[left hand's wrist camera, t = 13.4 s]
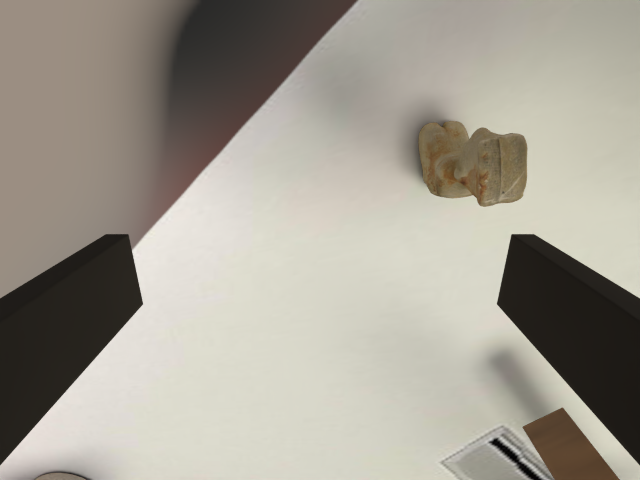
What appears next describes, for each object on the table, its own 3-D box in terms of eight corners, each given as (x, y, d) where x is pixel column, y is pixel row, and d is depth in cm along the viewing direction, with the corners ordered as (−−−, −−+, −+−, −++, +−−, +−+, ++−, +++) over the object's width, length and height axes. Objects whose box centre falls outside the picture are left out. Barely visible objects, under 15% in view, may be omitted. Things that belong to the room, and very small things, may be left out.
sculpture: (466, 118, 37) (555, 126, 23) (462, 185, 40) (539, 229, 26) (411, 123, 37) (465, 134, 23) (410, 189, 40) (459, 235, 26)
